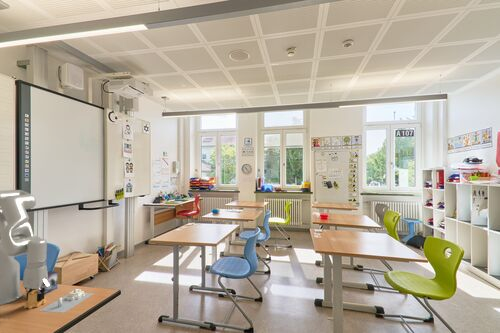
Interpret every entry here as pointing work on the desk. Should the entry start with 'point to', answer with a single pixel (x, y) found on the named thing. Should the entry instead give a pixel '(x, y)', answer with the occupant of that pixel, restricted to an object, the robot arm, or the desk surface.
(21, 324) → the desk surface
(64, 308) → the gear board
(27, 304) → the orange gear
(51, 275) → the small box
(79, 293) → the cream gear
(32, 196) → the robot arm
